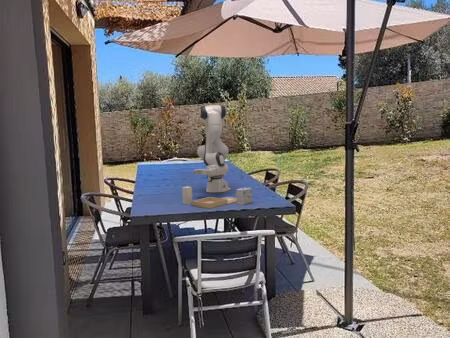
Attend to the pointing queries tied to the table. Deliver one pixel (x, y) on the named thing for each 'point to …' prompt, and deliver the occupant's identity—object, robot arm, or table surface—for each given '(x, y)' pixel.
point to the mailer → (213, 202)
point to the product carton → (187, 195)
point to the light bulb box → (243, 196)
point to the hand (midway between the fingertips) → (197, 172)
